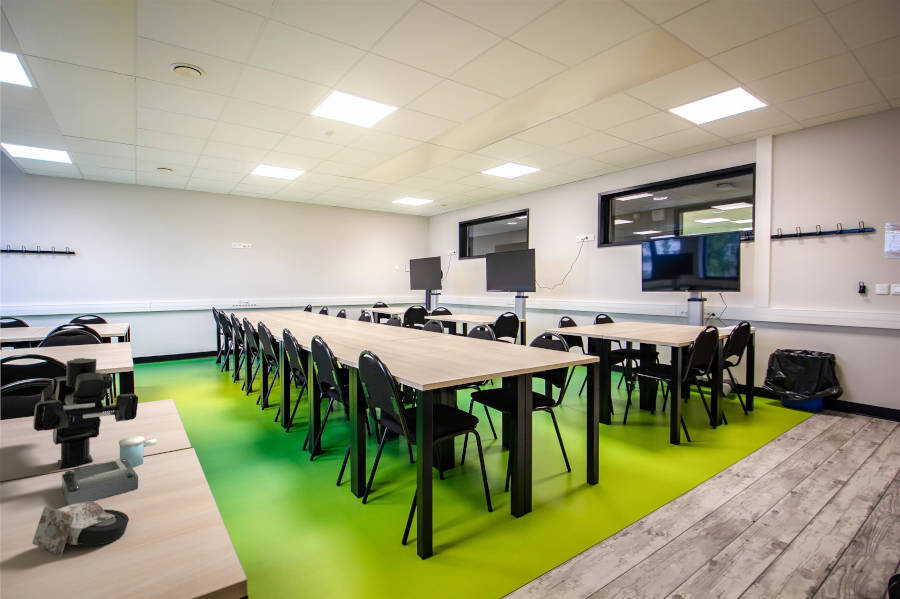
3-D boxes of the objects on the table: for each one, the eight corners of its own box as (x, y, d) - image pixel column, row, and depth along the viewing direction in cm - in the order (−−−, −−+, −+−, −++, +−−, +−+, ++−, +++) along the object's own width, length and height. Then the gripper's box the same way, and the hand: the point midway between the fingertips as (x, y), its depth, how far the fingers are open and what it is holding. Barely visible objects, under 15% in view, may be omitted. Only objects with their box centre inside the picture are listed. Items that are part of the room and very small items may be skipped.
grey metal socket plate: (61, 487, 98) (62, 468, 98) (126, 472, 107) (126, 454, 107) (68, 507, 89) (68, 485, 89) (138, 488, 98) (138, 469, 98)
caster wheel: (131, 543, 81) (78, 567, 71) (86, 523, 84) (28, 544, 74) (143, 507, 82) (91, 527, 72) (97, 489, 84) (41, 505, 74)
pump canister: (116, 464, 112) (116, 439, 112) (153, 456, 118) (153, 432, 118) (120, 470, 108) (121, 444, 108) (158, 461, 114) (158, 437, 114)
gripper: (34, 373, 99) (43, 390, 89) (132, 368, 113) (149, 382, 103) (29, 420, 99) (38, 442, 89) (127, 409, 113) (144, 427, 103)
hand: (96, 421), depth 96 cm, fingers open, 9 cm apart
